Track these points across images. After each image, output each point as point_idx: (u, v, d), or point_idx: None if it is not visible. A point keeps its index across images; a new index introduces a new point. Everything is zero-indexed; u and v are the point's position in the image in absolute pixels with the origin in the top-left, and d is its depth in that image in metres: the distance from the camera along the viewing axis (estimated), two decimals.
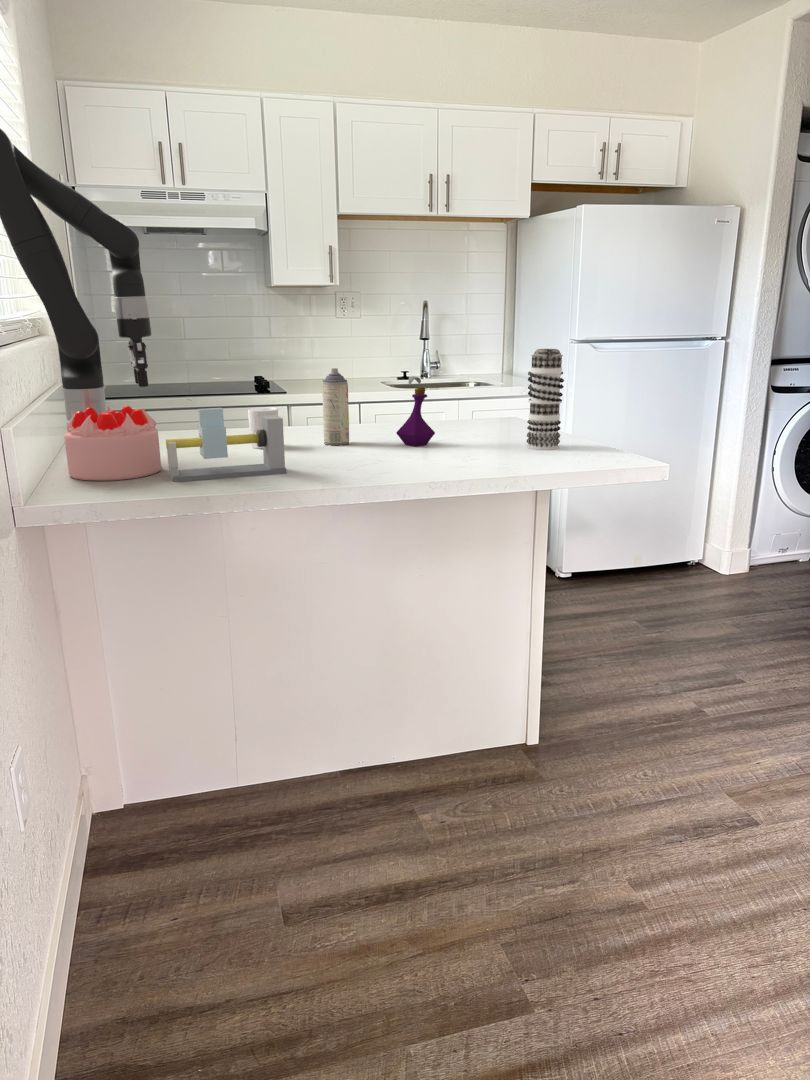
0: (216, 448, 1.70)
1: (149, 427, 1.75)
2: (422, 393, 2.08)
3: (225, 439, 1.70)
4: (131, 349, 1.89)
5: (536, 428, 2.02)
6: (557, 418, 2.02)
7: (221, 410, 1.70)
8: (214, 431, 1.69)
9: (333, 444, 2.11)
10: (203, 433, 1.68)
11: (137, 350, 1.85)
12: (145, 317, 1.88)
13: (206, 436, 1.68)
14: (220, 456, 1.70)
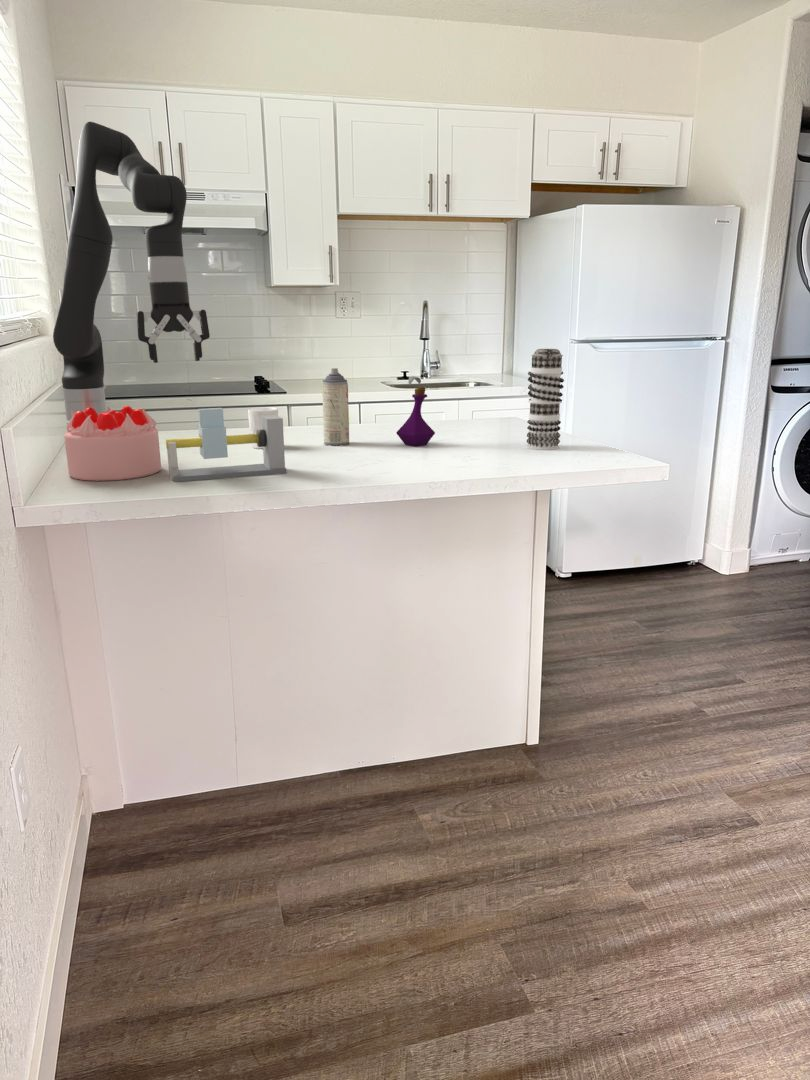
0: (216, 448, 1.70)
1: (149, 427, 1.75)
2: (422, 393, 2.08)
3: (225, 439, 1.70)
4: (184, 318, 1.63)
5: (536, 428, 2.02)
6: (557, 418, 2.02)
7: (221, 410, 1.70)
8: (214, 431, 1.69)
9: (333, 444, 2.11)
10: (203, 433, 1.68)
11: None
12: None
13: (206, 436, 1.68)
14: (220, 456, 1.70)
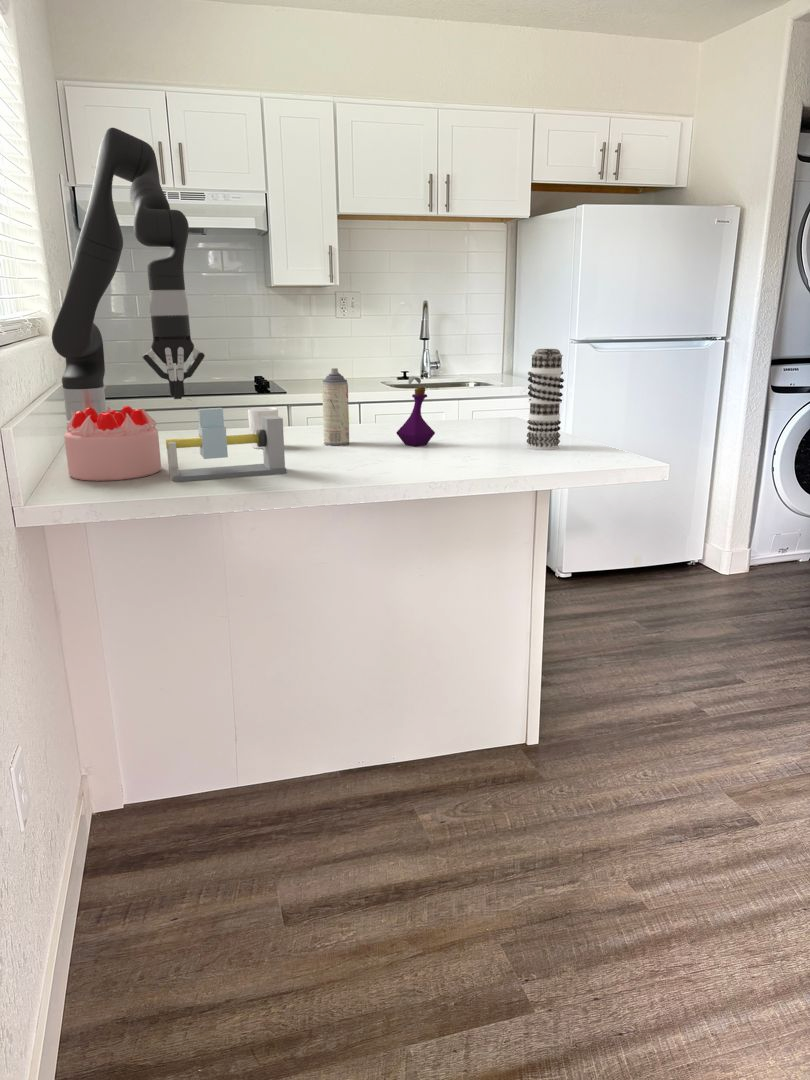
0: (216, 448, 1.70)
1: (149, 427, 1.75)
2: (422, 393, 2.08)
3: (225, 439, 1.70)
4: None
5: (536, 428, 2.02)
6: (557, 418, 2.02)
7: (221, 410, 1.70)
8: (214, 431, 1.69)
9: (333, 444, 2.11)
10: (203, 433, 1.68)
11: None
12: None
13: (206, 436, 1.68)
14: (220, 456, 1.70)
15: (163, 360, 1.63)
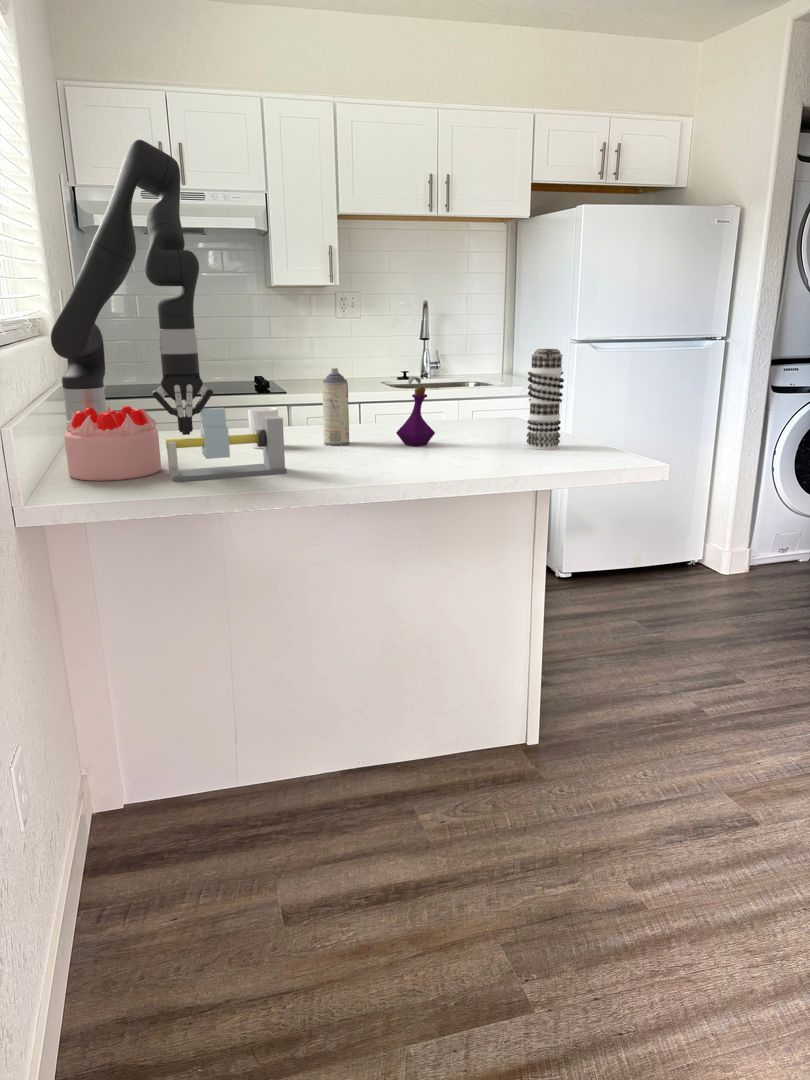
0: (218, 448, 1.70)
1: (149, 427, 1.75)
2: (422, 393, 2.08)
3: (227, 439, 1.70)
4: (192, 390, 1.66)
5: (536, 428, 2.02)
6: (557, 418, 2.02)
7: (223, 410, 1.70)
8: (216, 431, 1.69)
9: (333, 444, 2.11)
10: (205, 433, 1.68)
11: None
12: None
13: (208, 436, 1.68)
14: (222, 456, 1.71)
15: (172, 397, 1.66)
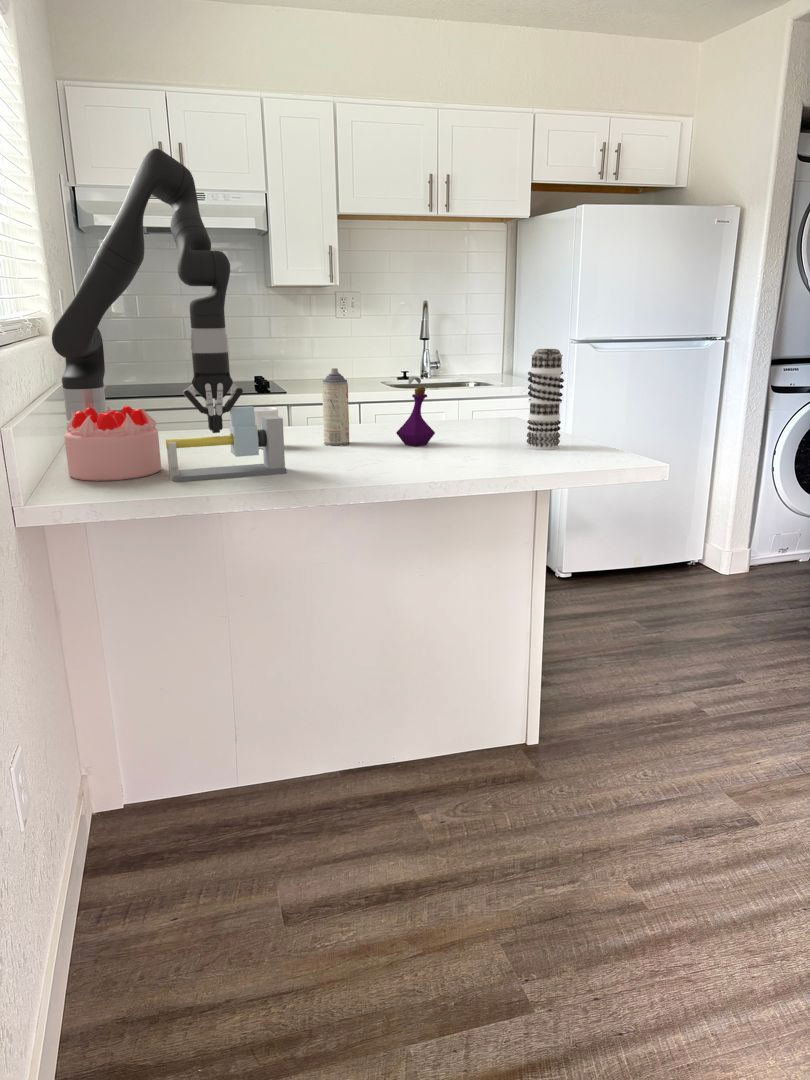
0: (248, 446, 1.72)
1: (149, 427, 1.75)
2: (422, 393, 2.08)
3: (256, 437, 1.72)
4: (222, 389, 1.69)
5: (536, 428, 2.02)
6: (557, 418, 2.02)
7: (252, 408, 1.73)
8: (245, 429, 1.71)
9: (333, 444, 2.11)
10: (235, 431, 1.70)
11: None
12: None
13: (238, 434, 1.71)
14: (251, 454, 1.73)
15: (203, 395, 1.68)
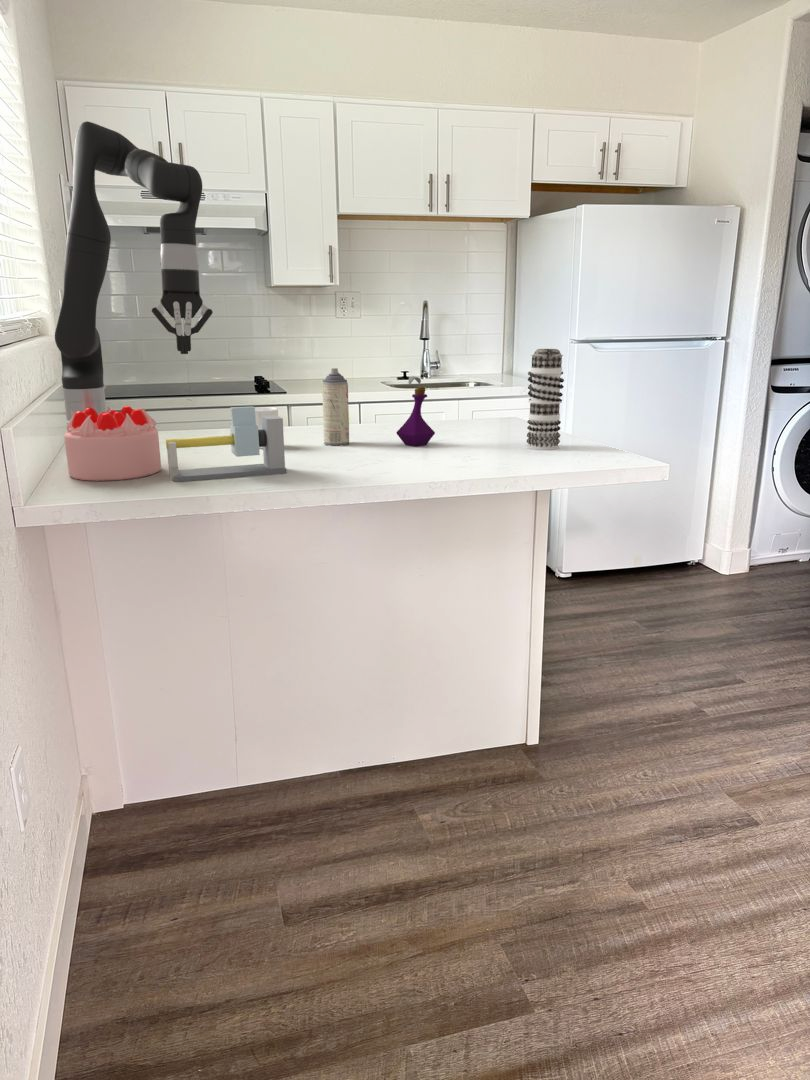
0: (248, 446, 1.72)
1: (149, 427, 1.75)
2: (422, 393, 2.08)
3: (257, 437, 1.72)
4: None
5: (536, 428, 2.02)
6: (557, 418, 2.02)
7: (253, 408, 1.73)
8: (246, 429, 1.71)
9: (333, 444, 2.11)
10: (236, 431, 1.70)
11: None
12: None
13: (239, 434, 1.71)
14: (252, 454, 1.73)
15: (171, 314, 1.65)
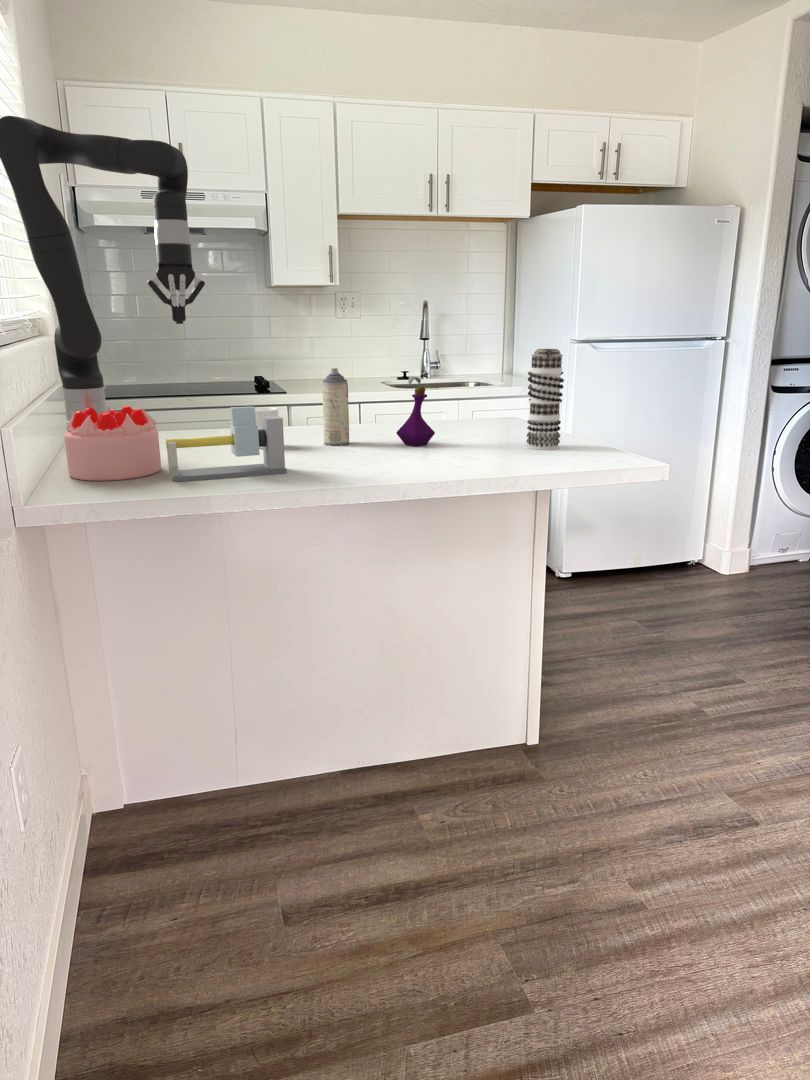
0: (248, 446, 1.72)
1: (149, 427, 1.75)
2: (422, 393, 2.08)
3: (257, 437, 1.72)
4: (185, 280, 1.77)
5: (536, 428, 2.02)
6: (557, 418, 2.02)
7: (253, 408, 1.73)
8: (246, 429, 1.71)
9: (333, 444, 2.11)
10: (236, 431, 1.70)
11: None
12: None
13: (239, 434, 1.71)
14: (252, 454, 1.73)
15: (166, 286, 1.76)
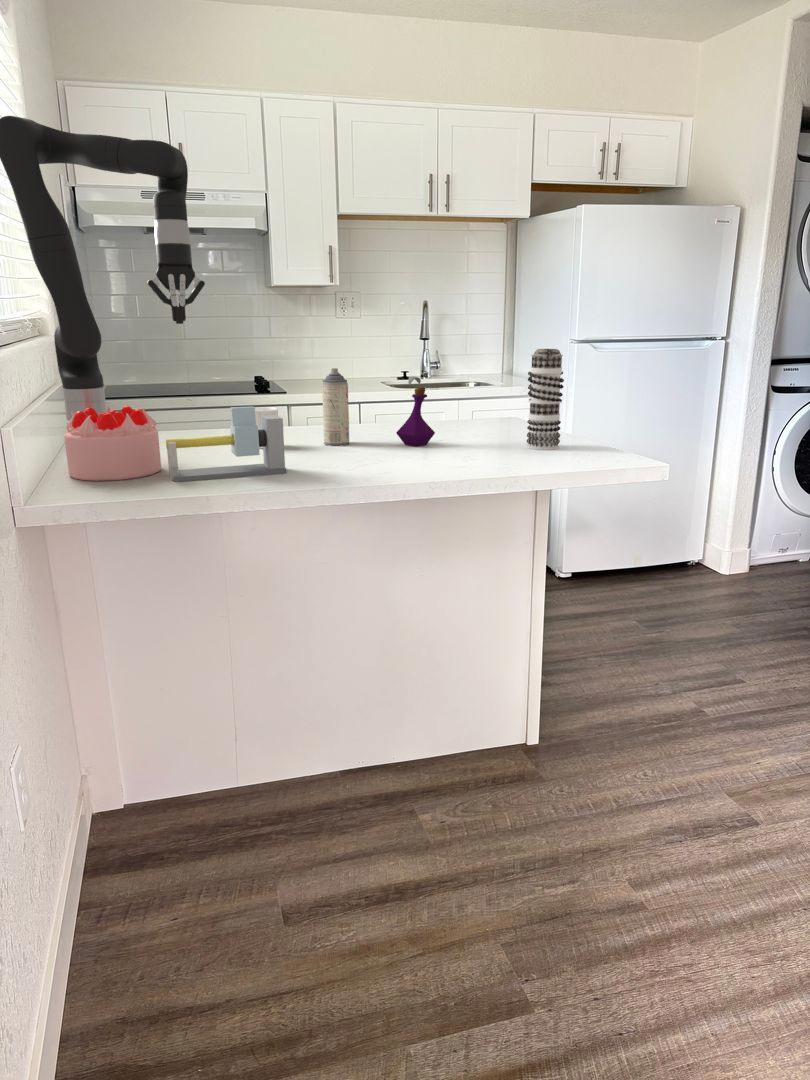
0: (248, 446, 1.72)
1: (149, 427, 1.75)
2: (422, 393, 2.08)
3: (257, 437, 1.72)
4: (185, 280, 1.77)
5: (536, 428, 2.02)
6: (557, 418, 2.02)
7: (253, 408, 1.73)
8: (246, 429, 1.71)
9: (333, 444, 2.11)
10: (236, 431, 1.70)
11: None
12: None
13: (239, 434, 1.71)
14: (252, 454, 1.73)
15: (166, 286, 1.76)
